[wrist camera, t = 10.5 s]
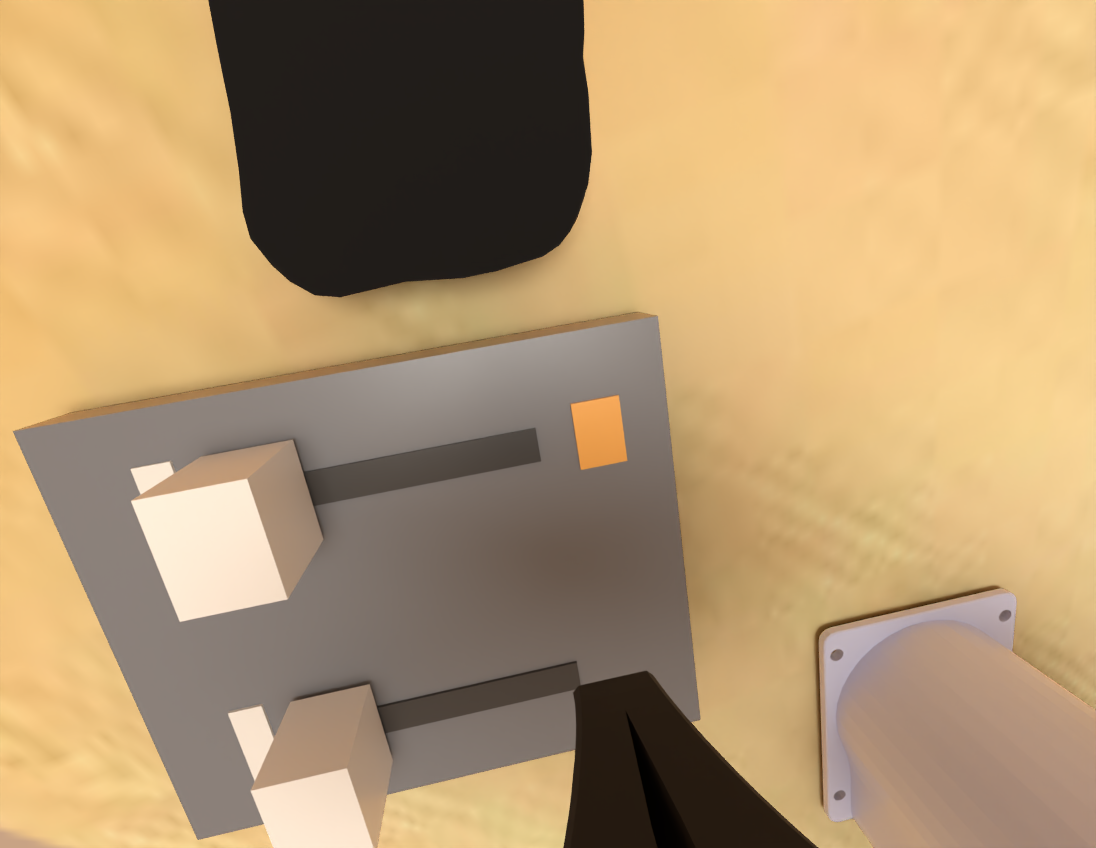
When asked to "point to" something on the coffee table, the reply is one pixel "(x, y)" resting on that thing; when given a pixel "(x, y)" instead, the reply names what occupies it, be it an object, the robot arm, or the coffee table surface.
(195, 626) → the grey flat block
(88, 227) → the coffee table surface
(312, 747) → the block
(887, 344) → the coffee table surface
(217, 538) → the block
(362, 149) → the black sponge
